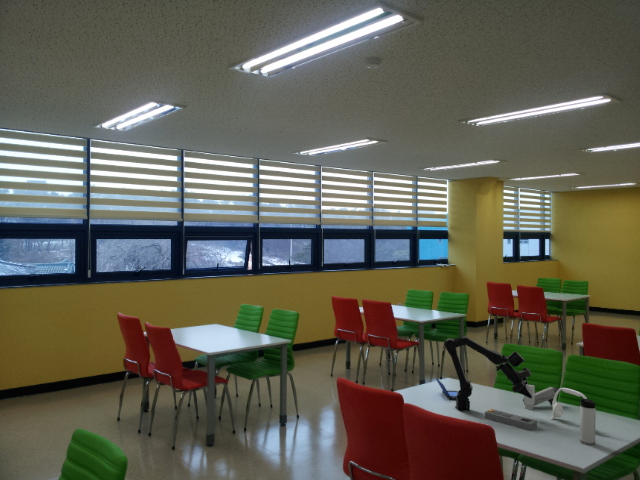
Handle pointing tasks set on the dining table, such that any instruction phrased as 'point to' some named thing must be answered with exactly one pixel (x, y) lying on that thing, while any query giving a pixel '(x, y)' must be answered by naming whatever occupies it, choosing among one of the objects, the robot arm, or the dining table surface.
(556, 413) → the headset
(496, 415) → the power strip
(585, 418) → the travel mug
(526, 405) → the plain gray block
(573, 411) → the dining table surface
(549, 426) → the dining table surface
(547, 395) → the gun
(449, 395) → the handheld game console
